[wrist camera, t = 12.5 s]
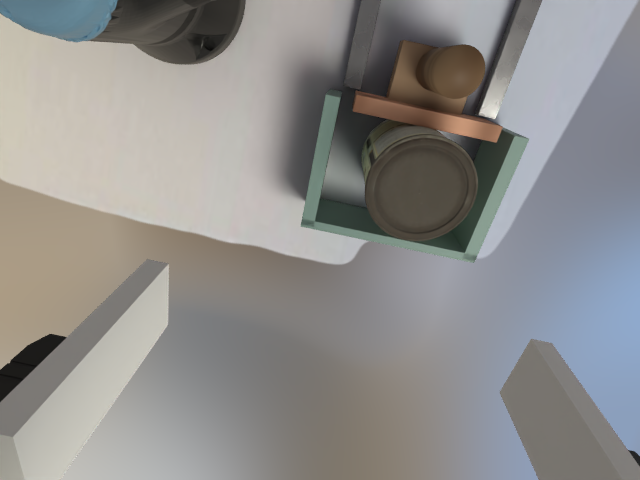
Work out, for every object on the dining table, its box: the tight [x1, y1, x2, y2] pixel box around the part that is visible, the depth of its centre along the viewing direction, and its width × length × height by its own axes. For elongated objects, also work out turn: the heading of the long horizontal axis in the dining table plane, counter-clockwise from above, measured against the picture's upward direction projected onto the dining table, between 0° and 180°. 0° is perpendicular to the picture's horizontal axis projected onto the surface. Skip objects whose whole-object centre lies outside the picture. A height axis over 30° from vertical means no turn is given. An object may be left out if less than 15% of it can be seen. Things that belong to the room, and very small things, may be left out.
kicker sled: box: [353, 40, 503, 143], centre depth 36 cm, size 15×7×12 cm, turn 79°
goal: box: [301, 89, 529, 263], centre depth 44 cm, size 21×15×8 cm
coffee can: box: [361, 119, 478, 241], centre depth 40 cm, size 10×10×14 cm
